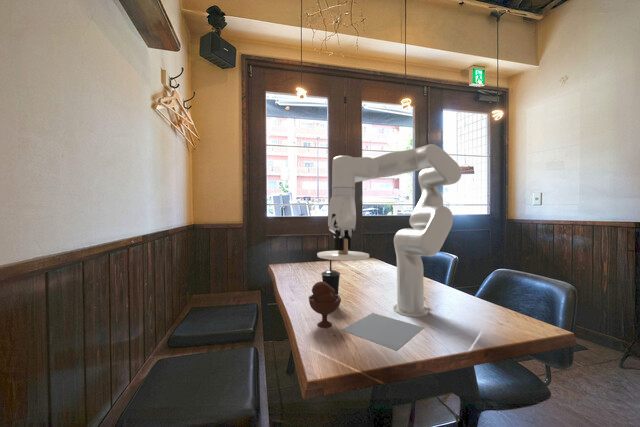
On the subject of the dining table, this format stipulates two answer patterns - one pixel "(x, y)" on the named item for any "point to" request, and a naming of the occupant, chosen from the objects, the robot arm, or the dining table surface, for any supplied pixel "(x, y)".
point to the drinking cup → (331, 278)
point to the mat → (383, 330)
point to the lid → (343, 254)
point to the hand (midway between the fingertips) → (342, 249)
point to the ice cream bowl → (324, 302)
